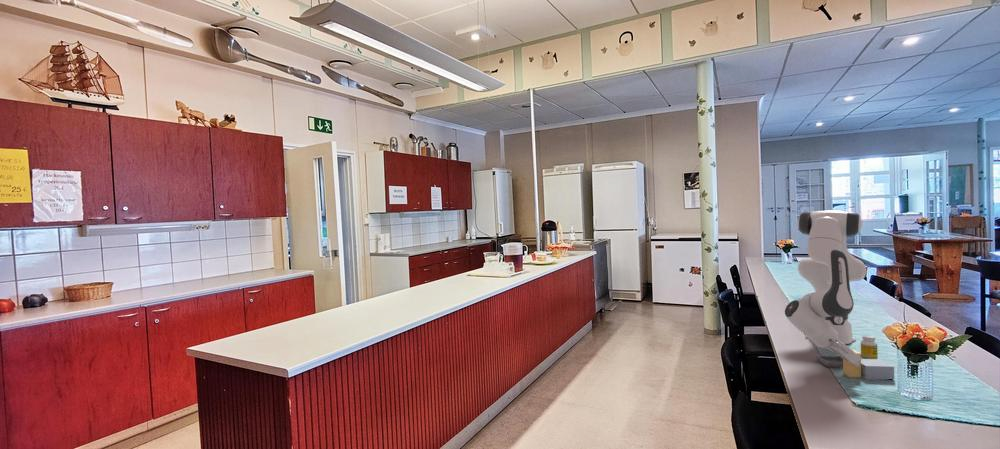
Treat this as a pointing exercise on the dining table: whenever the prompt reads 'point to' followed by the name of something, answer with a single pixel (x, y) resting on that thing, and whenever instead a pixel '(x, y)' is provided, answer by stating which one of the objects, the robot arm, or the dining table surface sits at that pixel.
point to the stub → (852, 368)
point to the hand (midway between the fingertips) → (853, 362)
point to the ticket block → (876, 369)
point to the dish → (831, 361)
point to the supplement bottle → (869, 347)
